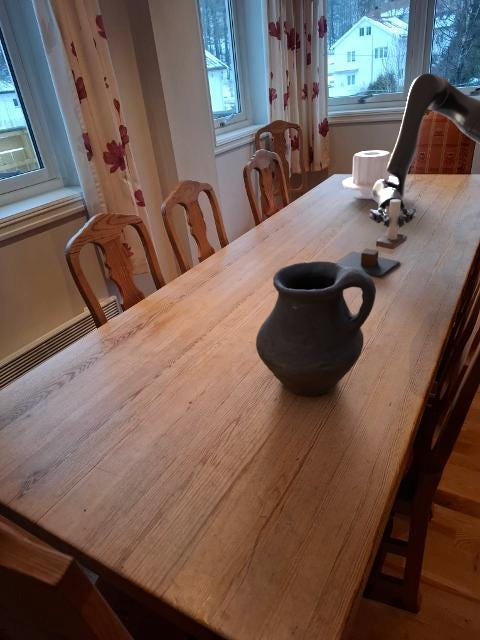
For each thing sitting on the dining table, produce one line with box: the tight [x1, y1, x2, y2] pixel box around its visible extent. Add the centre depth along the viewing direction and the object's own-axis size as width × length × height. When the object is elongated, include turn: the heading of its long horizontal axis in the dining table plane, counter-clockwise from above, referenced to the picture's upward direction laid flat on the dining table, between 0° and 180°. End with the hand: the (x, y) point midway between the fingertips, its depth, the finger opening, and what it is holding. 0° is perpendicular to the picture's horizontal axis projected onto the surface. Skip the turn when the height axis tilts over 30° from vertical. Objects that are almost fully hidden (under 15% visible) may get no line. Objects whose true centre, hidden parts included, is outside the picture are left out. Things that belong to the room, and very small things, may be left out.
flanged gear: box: [342, 150, 398, 200], centre depth 196 cm, size 25×25×19 cm
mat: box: [335, 251, 400, 278], centre depth 134 cm, size 16×12×1 cm
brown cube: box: [360, 248, 379, 267], centre depth 132 cm, size 4×4×4 cm
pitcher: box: [255, 260, 377, 397], centre depth 81 cm, size 21×22×25 cm
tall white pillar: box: [375, 199, 408, 255], centre depth 123 cm, size 8×5×14 cm, turn 136°
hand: (394, 223), depth 120 cm, fingers closed on tall white pillar, 3 cm apart
